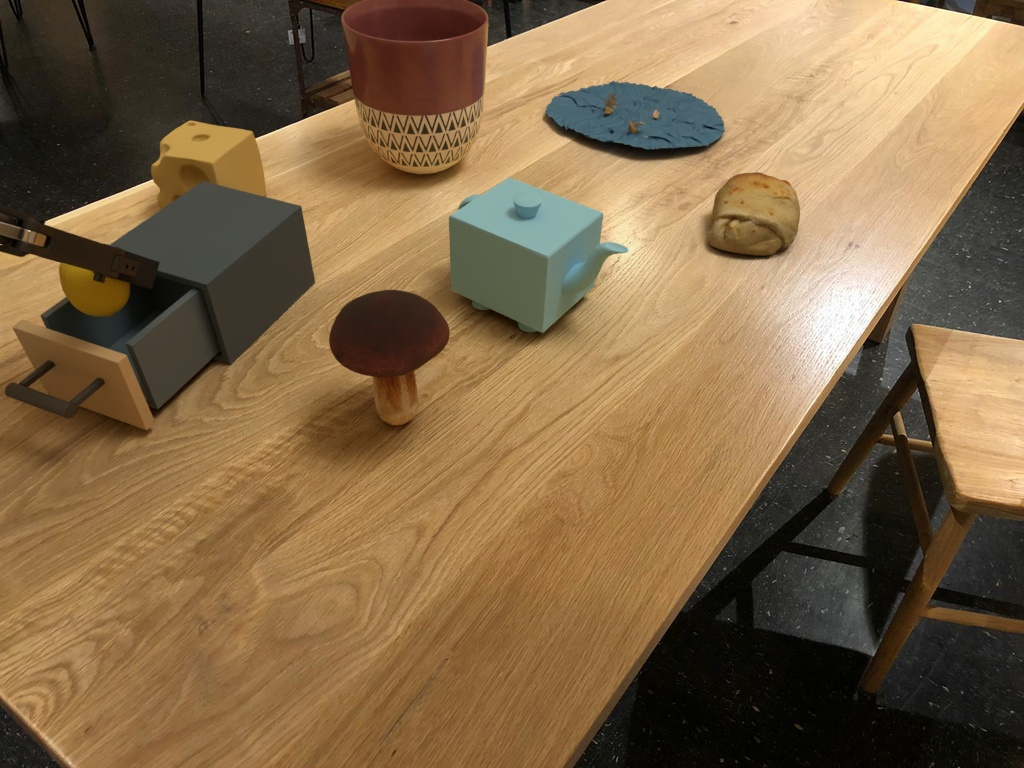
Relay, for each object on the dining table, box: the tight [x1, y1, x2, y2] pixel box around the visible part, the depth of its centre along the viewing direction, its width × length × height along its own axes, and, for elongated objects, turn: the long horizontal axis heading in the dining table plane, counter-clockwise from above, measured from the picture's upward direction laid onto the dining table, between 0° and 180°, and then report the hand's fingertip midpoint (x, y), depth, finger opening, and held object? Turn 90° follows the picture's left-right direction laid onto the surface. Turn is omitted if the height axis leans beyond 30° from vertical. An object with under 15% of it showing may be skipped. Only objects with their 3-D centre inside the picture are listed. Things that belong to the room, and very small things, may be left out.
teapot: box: [448, 176, 629, 334], centre depth 87 cm, size 22×11×14 cm, turn 54°
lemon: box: [58, 262, 130, 317], centre depth 71 cm, size 6×6×8 cm
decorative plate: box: [544, 80, 726, 151], centre depth 128 cm, size 30×30×5 cm
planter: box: [340, 0, 489, 175], centre depth 109 cm, size 20×20×21 cm
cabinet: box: [109, 181, 316, 366], centre depth 86 cm, size 17×14×11 cm
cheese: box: [150, 119, 267, 211], centre depth 102 cm, size 10×11×10 cm
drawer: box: [4, 276, 221, 431], centre depth 76 cm, size 20×12×9 cm, turn 158°
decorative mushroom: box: [328, 289, 450, 426], centre depth 72 cm, size 11×11×15 cm
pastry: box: [706, 171, 801, 257], centre depth 102 cm, size 14×12×8 cm
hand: (126, 267), depth 74 cm, fingers closed on lemon, 5 cm apart
